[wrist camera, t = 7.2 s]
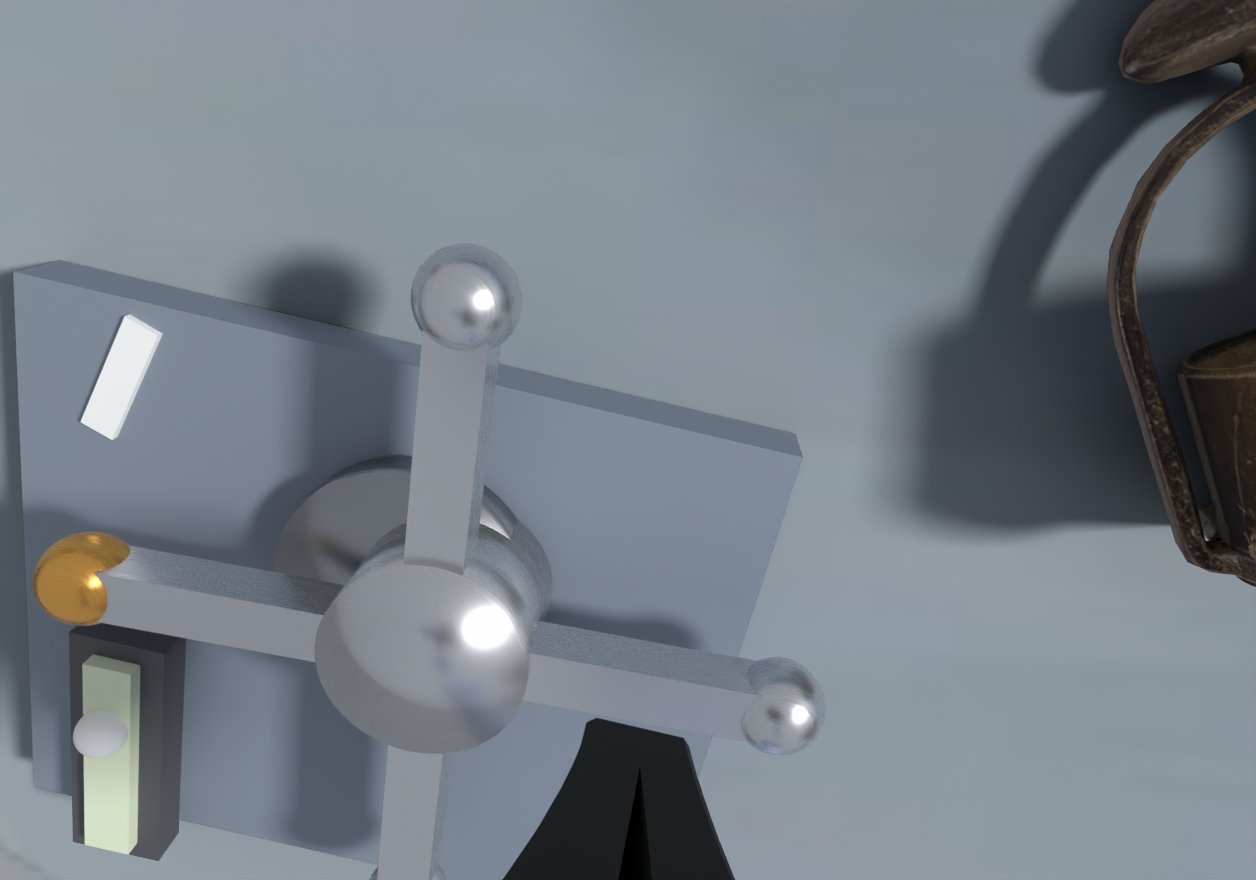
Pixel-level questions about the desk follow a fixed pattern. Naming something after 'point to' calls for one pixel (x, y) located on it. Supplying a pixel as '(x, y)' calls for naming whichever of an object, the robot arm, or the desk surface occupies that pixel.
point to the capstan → (429, 594)
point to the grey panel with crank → (254, 520)
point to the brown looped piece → (1222, 372)
